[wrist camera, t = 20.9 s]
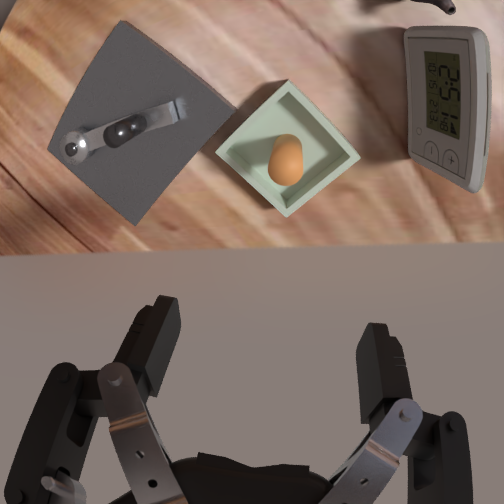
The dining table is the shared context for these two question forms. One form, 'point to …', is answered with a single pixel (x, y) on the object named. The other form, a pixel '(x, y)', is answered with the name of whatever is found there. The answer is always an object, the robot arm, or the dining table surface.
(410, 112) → the digital clock
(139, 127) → the crank
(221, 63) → the dining table surface
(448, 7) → the teapot
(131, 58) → the crank base
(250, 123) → the tray
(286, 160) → the pin
